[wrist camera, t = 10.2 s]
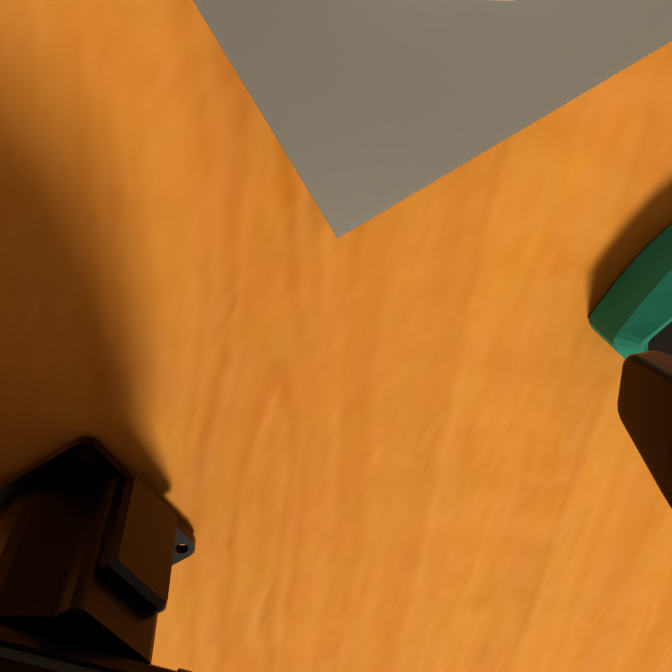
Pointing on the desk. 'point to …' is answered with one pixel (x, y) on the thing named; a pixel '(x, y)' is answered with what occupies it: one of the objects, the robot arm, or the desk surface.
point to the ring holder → (417, 80)
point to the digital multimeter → (640, 303)
